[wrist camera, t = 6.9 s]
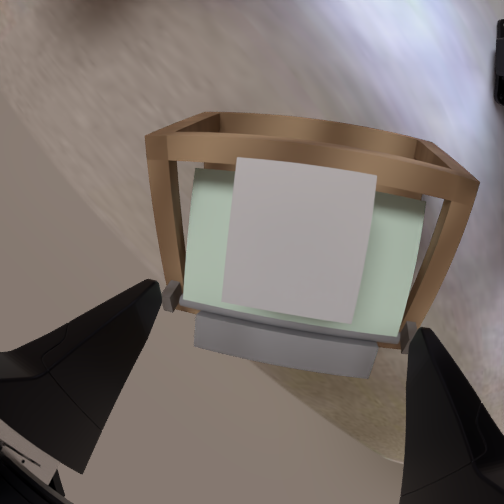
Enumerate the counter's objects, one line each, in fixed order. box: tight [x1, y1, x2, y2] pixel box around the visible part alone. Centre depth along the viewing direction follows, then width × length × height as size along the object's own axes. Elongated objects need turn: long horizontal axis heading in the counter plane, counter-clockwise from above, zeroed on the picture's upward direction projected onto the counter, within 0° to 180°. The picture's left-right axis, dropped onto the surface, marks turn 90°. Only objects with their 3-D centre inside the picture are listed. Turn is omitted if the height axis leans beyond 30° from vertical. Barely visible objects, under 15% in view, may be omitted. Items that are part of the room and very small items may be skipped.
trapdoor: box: [179, 168, 426, 379], centre depth 15 cm, size 12×10×1 cm
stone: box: [221, 157, 377, 324], centre depth 12 cm, size 5×5×5 cm
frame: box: [145, 112, 480, 354], centre depth 17 cm, size 15×11×9 cm
